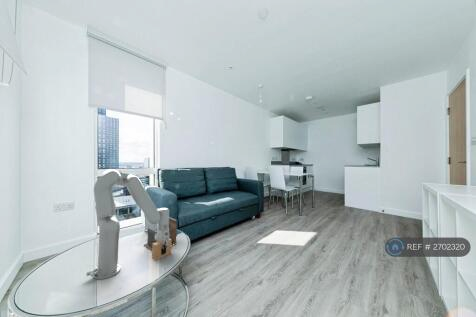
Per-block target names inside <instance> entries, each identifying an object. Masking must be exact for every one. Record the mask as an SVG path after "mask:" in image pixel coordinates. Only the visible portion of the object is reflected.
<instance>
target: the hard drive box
mask: <svg viewBox="0 0 476 317" xmlns="http://www.w3.org/2000/svg"><path fill="white" fill-rule="evenodd" d="M144 218H145V217H144ZM144 222H145V223H144V231H145V230H147V231H148V228H150V229H152V230H154V231H157V223H155V224H151V223H149V222H148V220H146V218H145V219H144Z"/></svg>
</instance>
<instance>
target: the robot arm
mask: <svg viewBox="0 0 476 317" xmlns="http://www.w3.org/2000/svg"><path fill="white" fill-rule="evenodd" d="M115 185H117V186H121V187H124V188H126V189H127V192H129V194H130V196H131V197H132V199H133V202H134V203H135V204H136V205H137V207H138V208H140V209H141V211H142V212H143V214H144V215H143V216H144V218H146V220H148V222H149V223H151V224H155V223H157V233H156V234H155V239H156V241H157V242H160V243H161V244H162V249H161V254H162V255H163V254H165V253H166V248H167V246H168V243H169V229H168V228H169V217H170V209H169V208H168V207H161V208H157V206H156V205H155V204H154V202H153V200H152V198H151V197H150V195H149V194H148V192H147V190H146V188H145V186H144V185H143V183H142V181H141V180H140V177H138V176H136V175H133V174H129V173H126V172H123V171H120V170H119V171H118V170H116V169H107V170H105V171H104V172H103V173H102V175H101V176H100V177H99V178H97V180H96V182H95V184H94V187H93V194H94V203H95V206H94V207H95V212H96V217H97V223H98V231H99V232H98V234H99V235H98V247H97V248H98V253H97V266H95V268H94V269H93V270H89V271H86V276H87V277H88V276H90V277H93V279H96V280H104V279H105V280H106V279H109V278H112V277H113V276H116V275H117V274H118V273H119V272H120V271H121V265H120V264H118V263H119V240H120V239H119V238H120V230H121V225H120V221H119V219H118V216H117V211H116V210H117V208H116V207H117V206H116V203H115V198H114V192H113V188H114V186H115Z"/></svg>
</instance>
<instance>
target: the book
mask: <svg viewBox="0 0 476 317" xmlns="http://www.w3.org/2000/svg"><path fill="white" fill-rule="evenodd" d="M171 245H172V239H170V238H169V243H168V246H167V248H166V253H165V254H163V255H162V254H161V249H162V244H161V243H160V242H155V243H152V251H151V259H152V260H153V261H156V260H160V259H161V258H163V257H164V258H165V257H166V256H169V255H170V254H169V253H171V254H172V246H171ZM168 254H169V255H168Z"/></svg>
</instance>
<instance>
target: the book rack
mask: <svg viewBox="0 0 476 317" xmlns="http://www.w3.org/2000/svg"><path fill="white" fill-rule="evenodd" d="M177 223H178V220H177V219H175V218H173V217H170V216H169V228H168V229H169V238H170V239H172V245H173V244H175V243H176V244H177V231H178V230H177V229H178V228H177V226H178V224H177ZM155 242H157V241H156V232H155V231H154V230H152V229H150V228H148V232H147V243H144V244H143V246H144V247H145V248H147V249H148V250H149V251H151V252H152V243H155ZM176 244H175V245H176ZM173 246H174V245H173Z"/></svg>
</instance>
